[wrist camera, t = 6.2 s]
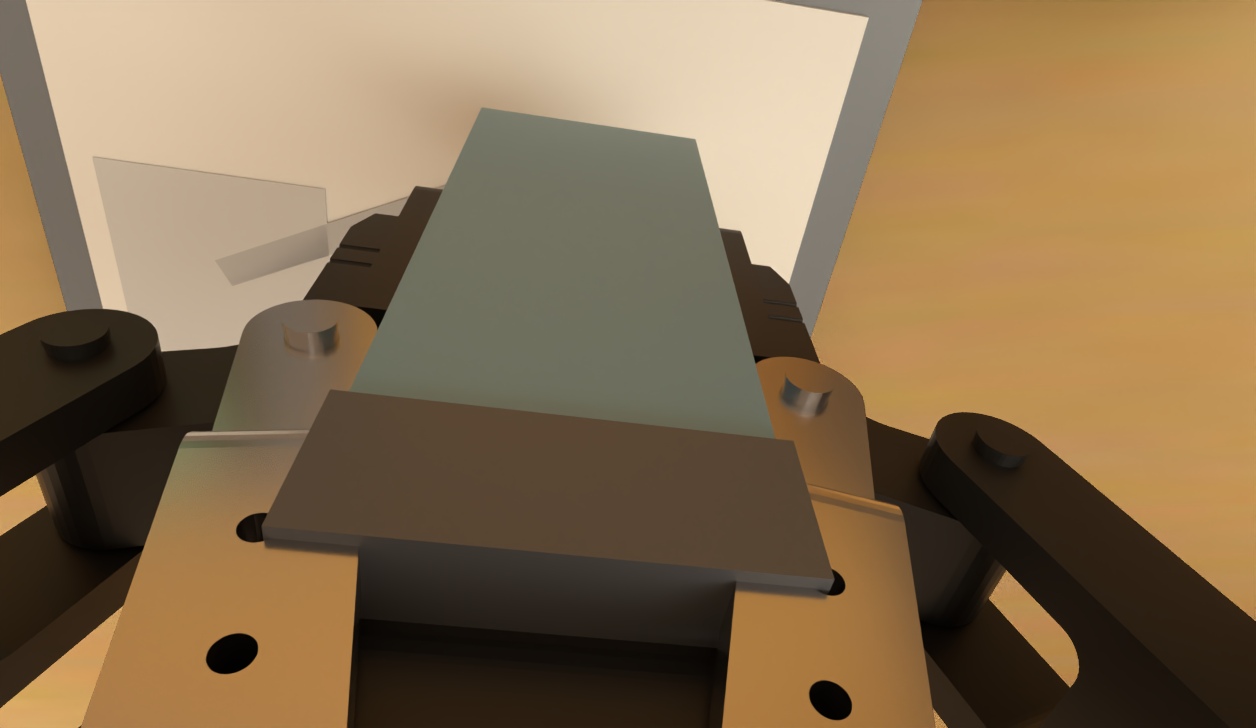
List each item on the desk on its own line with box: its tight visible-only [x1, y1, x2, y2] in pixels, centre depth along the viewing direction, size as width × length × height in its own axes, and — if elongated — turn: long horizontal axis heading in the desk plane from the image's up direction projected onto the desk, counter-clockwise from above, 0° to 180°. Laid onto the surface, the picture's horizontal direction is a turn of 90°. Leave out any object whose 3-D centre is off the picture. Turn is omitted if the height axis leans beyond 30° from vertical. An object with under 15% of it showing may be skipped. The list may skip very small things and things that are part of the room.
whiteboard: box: [0, 0, 923, 351], centre depth 18 cm, size 18×13×1 cm
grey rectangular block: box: [262, 107, 835, 648], centre depth 10 cm, size 4×4×9 cm
